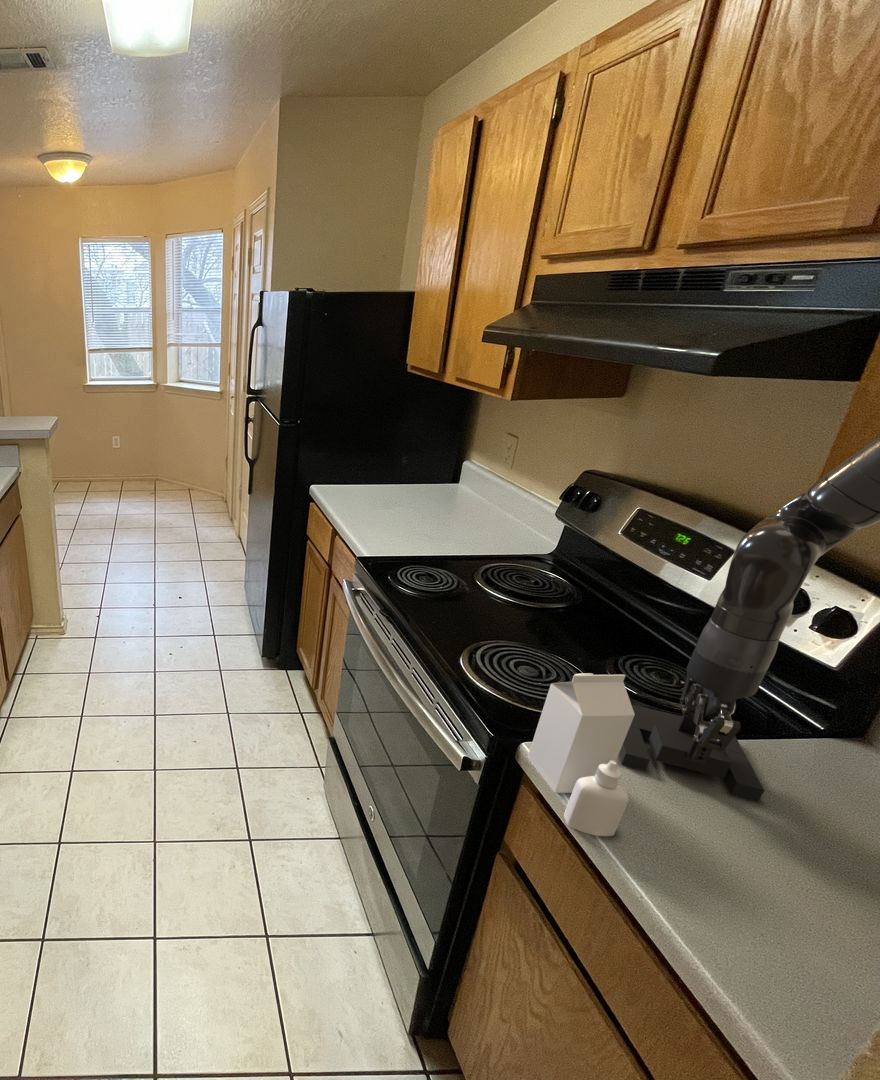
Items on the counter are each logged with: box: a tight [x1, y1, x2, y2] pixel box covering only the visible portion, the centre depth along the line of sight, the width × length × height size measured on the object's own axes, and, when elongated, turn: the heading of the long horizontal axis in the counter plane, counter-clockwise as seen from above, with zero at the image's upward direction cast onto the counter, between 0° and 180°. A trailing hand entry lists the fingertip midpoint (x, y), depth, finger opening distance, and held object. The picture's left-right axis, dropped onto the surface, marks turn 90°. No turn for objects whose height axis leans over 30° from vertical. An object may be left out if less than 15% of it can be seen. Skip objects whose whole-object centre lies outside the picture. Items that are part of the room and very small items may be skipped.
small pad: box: [648, 725, 731, 779], centre depth 89 cm, size 8×5×3 cm, turn 63°
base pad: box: [618, 703, 765, 802], centre depth 92 cm, size 16×14×3 cm
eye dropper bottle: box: [563, 760, 629, 837], centre depth 78 cm, size 4×6×12 cm
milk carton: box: [527, 672, 635, 794], centre depth 85 cm, size 7×7×19 cm
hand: (689, 748), depth 89 cm, fingers closed on small pad, 5 cm apart
